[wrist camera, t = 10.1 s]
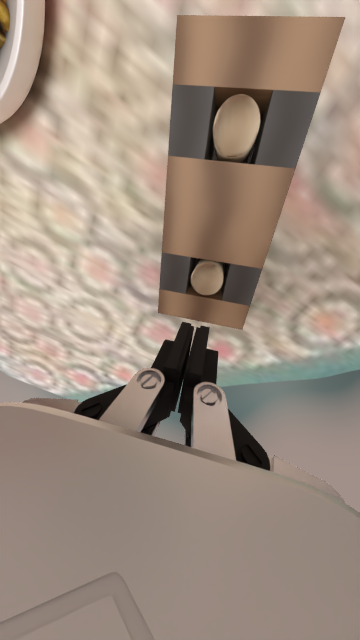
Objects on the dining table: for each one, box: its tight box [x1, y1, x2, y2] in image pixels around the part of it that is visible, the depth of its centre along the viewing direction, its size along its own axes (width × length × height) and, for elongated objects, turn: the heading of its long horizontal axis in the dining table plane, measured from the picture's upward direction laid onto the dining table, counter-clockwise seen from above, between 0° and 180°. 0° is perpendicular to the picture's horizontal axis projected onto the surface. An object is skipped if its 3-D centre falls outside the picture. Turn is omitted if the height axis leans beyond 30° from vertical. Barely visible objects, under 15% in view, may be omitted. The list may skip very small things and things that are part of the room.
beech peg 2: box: [213, 94, 260, 164], centre depth 20 cm, size 4×4×8 cm
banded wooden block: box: [158, 15, 345, 329], centre depth 24 cm, size 12×26×8 cm, turn 173°
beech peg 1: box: [191, 259, 224, 295], centre depth 27 cm, size 4×4×8 cm
